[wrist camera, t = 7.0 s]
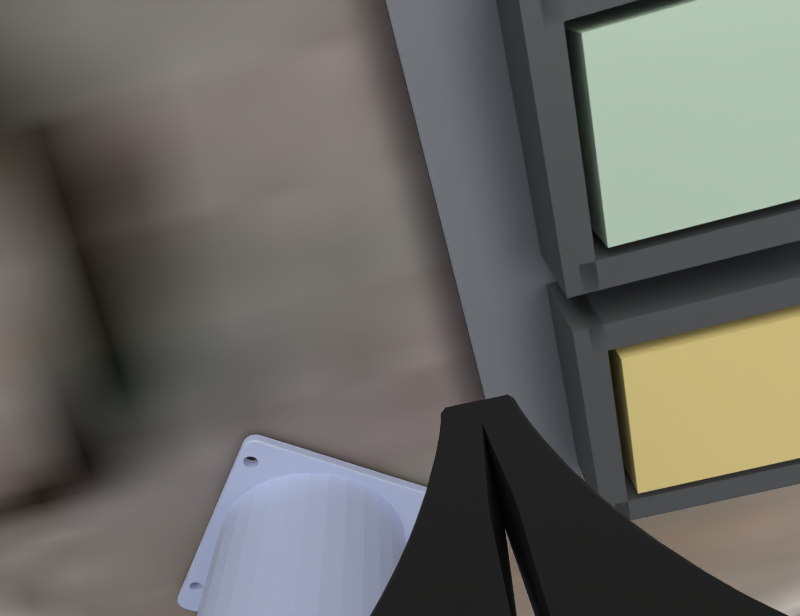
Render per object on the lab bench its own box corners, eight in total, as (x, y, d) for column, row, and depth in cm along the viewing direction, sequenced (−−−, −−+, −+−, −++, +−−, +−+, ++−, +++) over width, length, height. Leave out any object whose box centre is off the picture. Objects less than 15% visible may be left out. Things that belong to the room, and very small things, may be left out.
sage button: (761, 165, 17) (817, 194, 15) (578, 213, 17) (608, 248, 15) (761, -37, 15) (827, -38, 13) (552, 24, 15) (581, 33, 13)
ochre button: (761, 405, 21) (806, 456, 18) (611, 440, 21) (637, 493, 19) (761, 273, 18) (812, 313, 16) (593, 314, 19) (621, 359, 17)
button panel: (827, 375, 23) (929, 467, 19) (498, 451, 24) (525, 554, 20) (885, -654, 12) (1163, -989, 8) (276, -433, 13) (231, -622, 9)
